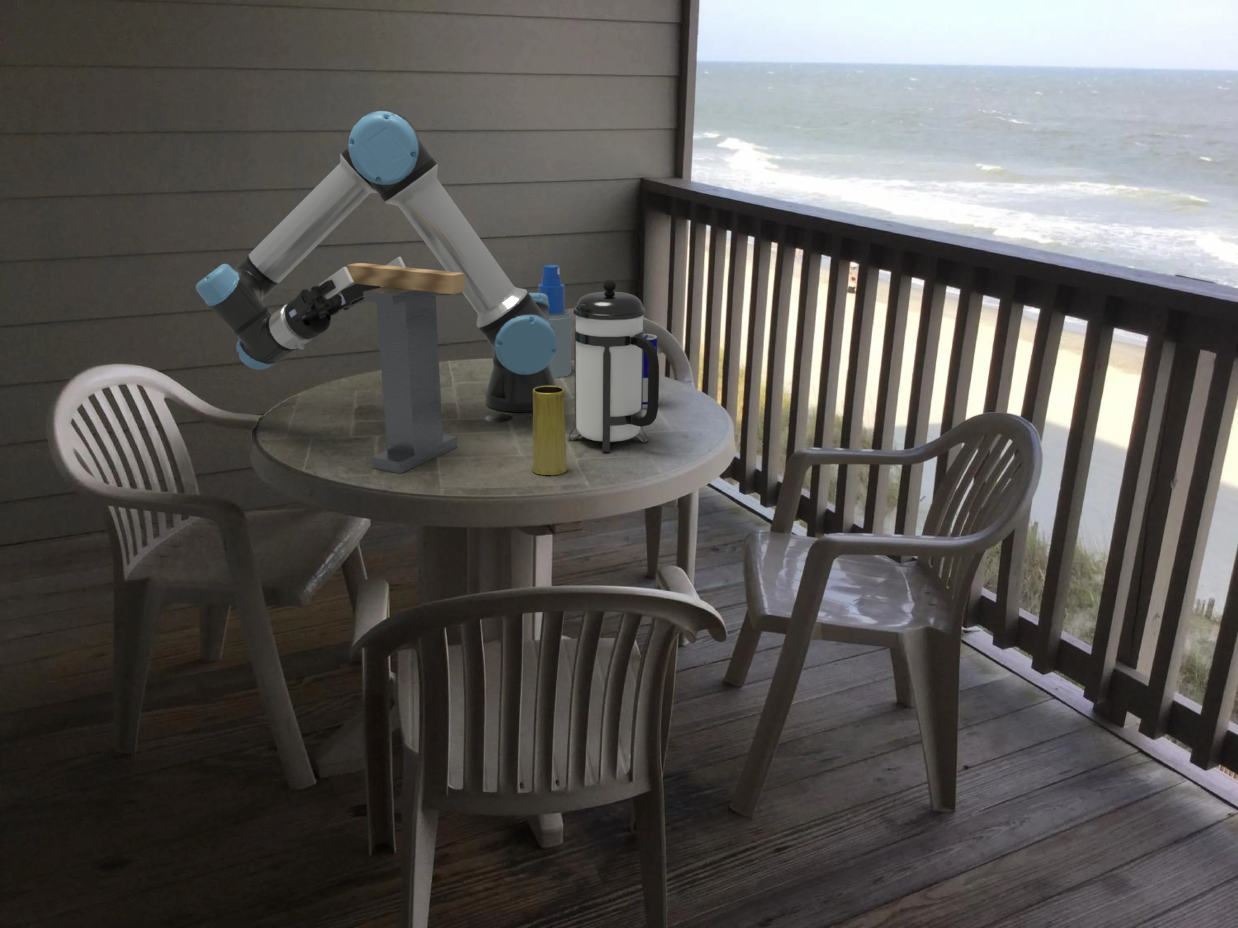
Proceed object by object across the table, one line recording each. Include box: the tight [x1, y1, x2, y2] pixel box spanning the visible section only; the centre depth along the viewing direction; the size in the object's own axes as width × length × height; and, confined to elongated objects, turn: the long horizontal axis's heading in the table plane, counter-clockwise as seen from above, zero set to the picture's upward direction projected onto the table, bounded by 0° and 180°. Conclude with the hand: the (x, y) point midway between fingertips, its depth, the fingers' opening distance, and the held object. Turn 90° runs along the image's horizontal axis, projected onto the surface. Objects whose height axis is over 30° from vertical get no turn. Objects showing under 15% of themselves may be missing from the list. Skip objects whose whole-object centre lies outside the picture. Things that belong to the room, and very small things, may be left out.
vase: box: [531, 385, 568, 477], centre depth 167 cm, size 6×6×14 cm
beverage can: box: [641, 333, 658, 410], centre depth 205 cm, size 5×5×15 cm
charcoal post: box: [363, 287, 458, 474], centre depth 170 cm, size 6×16×30 cm, turn 152°
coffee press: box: [568, 278, 660, 454], centre depth 180 cm, size 17×16×30 cm
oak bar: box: [346, 262, 465, 295], centre depth 165 cm, size 22×3×3 cm, turn 63°
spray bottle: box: [537, 264, 572, 379], centre depth 228 cm, size 9×9×25 cm
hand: (376, 269), depth 167 cm, fingers open, 13 cm apart
